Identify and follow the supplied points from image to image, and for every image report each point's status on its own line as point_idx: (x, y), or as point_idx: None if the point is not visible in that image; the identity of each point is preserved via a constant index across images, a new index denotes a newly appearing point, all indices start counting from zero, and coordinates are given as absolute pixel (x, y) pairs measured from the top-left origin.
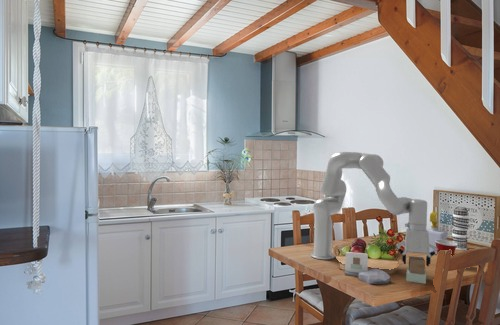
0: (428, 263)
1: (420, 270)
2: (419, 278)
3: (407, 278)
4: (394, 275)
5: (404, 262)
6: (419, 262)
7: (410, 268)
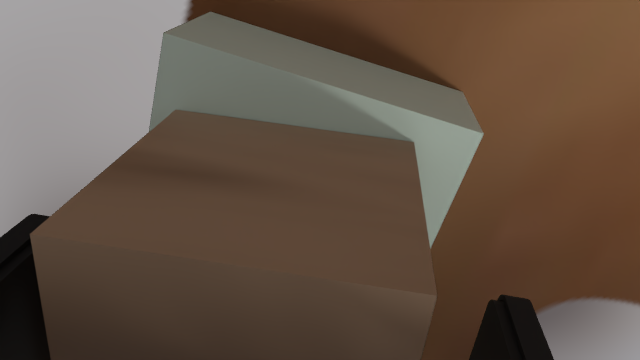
0: (3, 244)
1: (228, 139)
2: (280, 51)
3: (451, 98)
4: (545, 284)
5: (531, 317)
6: (202, 221)
7: (415, 173)
